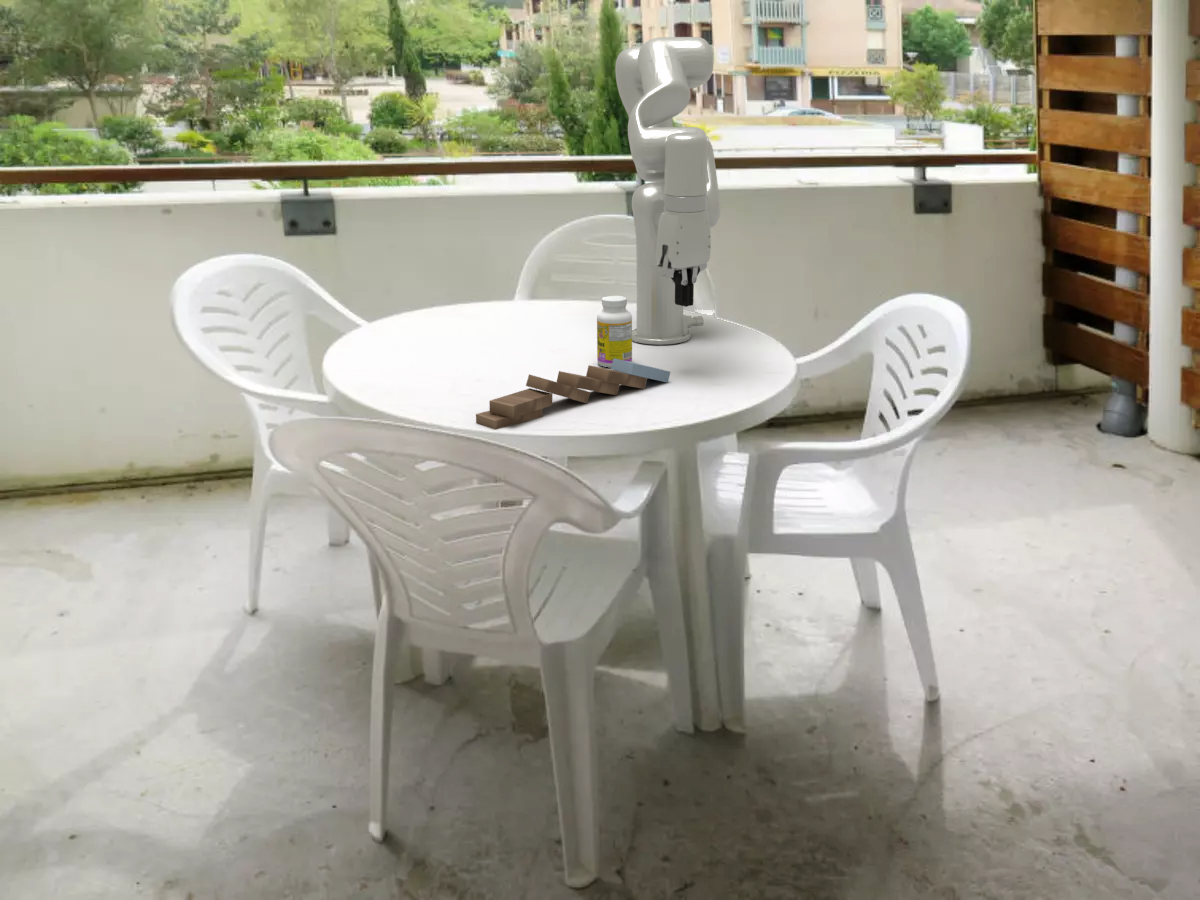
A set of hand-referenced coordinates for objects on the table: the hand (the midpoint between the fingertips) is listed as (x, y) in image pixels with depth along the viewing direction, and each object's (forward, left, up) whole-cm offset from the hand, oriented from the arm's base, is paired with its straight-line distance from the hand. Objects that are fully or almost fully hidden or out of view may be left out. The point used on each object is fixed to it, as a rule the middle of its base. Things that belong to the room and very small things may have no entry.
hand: (684, 304), depth 237 cm
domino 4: (+19, +5, -12) cm, 23 cm away
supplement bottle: (+8, -11, -13) cm, 19 cm away
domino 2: (+36, +10, -12) cm, 39 cm away
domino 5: (+12, +4, -12) cm, 18 cm away
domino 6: (+7, +2, -12) cm, 14 cm away
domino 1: (+34, +9, -10) cm, 36 cm away
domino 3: (+25, +7, -12) cm, 29 cm away
